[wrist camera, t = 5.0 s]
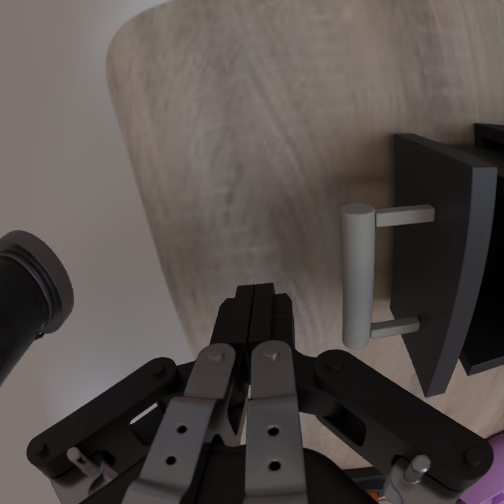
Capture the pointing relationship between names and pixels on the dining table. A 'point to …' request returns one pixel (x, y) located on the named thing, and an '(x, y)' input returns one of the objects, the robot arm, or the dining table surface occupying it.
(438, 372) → the dark grey drawer
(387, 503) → the jar
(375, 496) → the button
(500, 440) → the teapot
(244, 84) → the dining table surface
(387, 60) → the dining table surface
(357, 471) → the panel
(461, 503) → the planter
